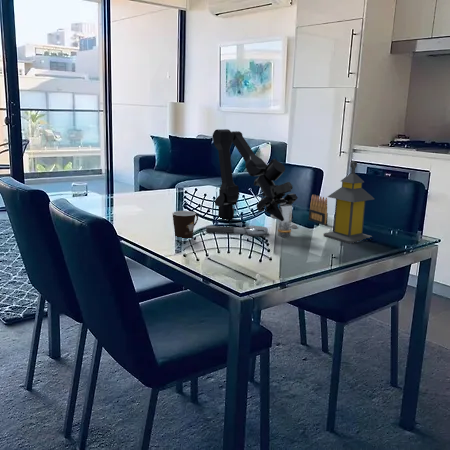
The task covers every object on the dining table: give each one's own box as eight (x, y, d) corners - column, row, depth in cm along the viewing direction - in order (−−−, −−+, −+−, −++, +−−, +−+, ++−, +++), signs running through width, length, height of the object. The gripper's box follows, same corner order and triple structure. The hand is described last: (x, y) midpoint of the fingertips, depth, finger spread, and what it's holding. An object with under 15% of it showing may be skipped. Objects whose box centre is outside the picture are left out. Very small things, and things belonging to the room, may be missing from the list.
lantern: (322, 235, 196) (327, 160, 189) (344, 231, 205) (351, 158, 198) (350, 244, 186) (357, 164, 178) (373, 238, 194) (380, 162, 187)
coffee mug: (177, 243, 181) (177, 216, 179) (169, 237, 188) (168, 211, 186) (206, 240, 186) (206, 214, 184) (196, 234, 194) (197, 209, 191)
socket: (277, 236, 193) (279, 206, 190) (277, 233, 198) (278, 203, 195) (291, 237, 193) (292, 207, 190) (290, 233, 198) (292, 204, 195)
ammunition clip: (327, 224, 215) (329, 197, 212) (324, 225, 214) (326, 198, 211) (311, 219, 224) (313, 193, 221) (308, 220, 223) (309, 193, 220)
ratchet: (205, 234, 194) (205, 228, 194) (207, 228, 203) (207, 223, 202) (267, 236, 193) (268, 231, 192) (267, 231, 201) (267, 225, 201)
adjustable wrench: (298, 229, 207) (298, 225, 207) (283, 230, 206) (283, 226, 206) (281, 216, 231) (282, 212, 231) (268, 216, 230) (268, 212, 230)
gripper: (263, 177, 187) (283, 210, 182) (295, 173, 199) (315, 205, 194) (247, 194, 195) (266, 227, 189) (280, 190, 207) (298, 220, 201)
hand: (287, 219), depth 193 cm, fingers closed on socket, 5 cm apart
